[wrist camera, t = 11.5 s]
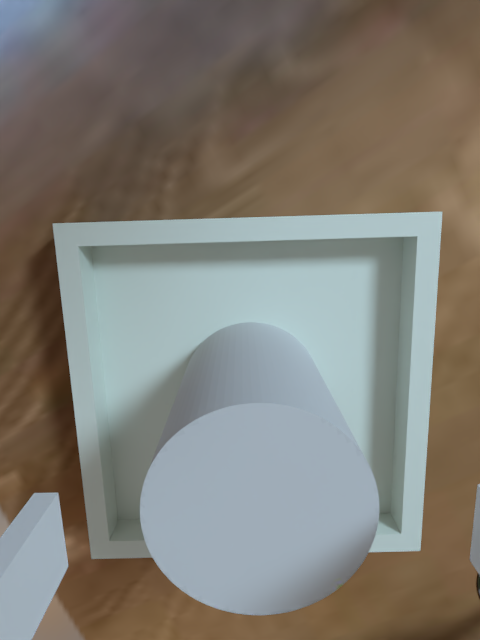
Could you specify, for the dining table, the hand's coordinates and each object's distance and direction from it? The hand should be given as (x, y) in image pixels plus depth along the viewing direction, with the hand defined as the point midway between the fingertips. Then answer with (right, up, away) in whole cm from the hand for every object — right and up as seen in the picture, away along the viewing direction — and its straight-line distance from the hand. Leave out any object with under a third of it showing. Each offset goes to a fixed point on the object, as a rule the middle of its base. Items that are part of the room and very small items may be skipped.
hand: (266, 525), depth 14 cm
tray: (0, +3, +14) cm, 14 cm away
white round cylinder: (0, +2, +13) cm, 13 cm away
